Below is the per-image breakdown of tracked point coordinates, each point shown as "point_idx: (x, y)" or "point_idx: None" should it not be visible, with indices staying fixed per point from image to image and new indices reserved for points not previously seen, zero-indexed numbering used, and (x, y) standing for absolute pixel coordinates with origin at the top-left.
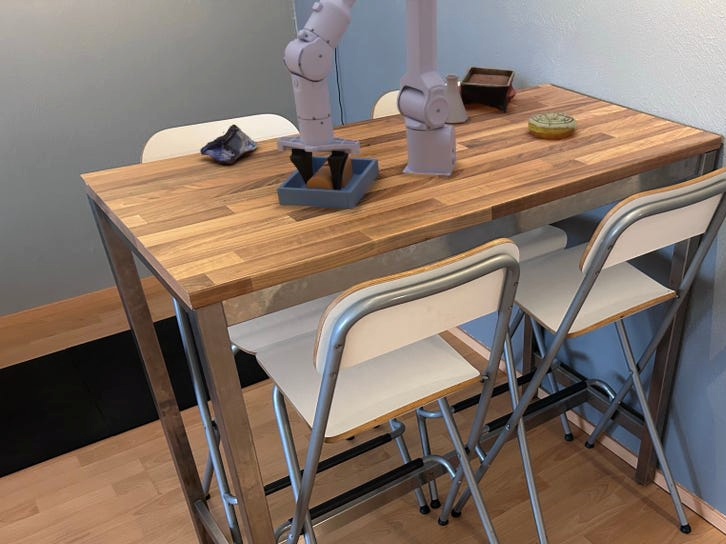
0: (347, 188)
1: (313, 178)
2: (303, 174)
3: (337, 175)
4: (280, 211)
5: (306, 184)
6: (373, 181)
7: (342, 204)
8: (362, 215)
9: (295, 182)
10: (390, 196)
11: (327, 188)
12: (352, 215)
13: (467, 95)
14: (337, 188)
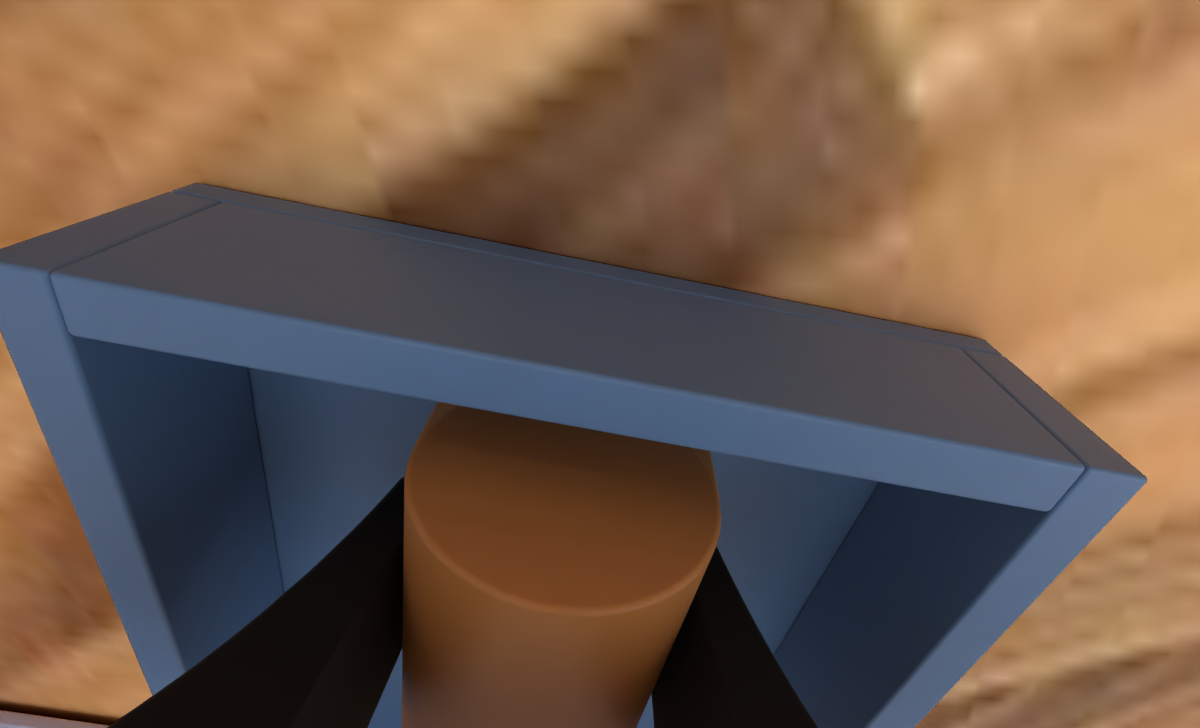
0: None
1: (603, 604)
2: (767, 708)
3: (229, 639)
4: (993, 249)
5: (724, 586)
6: None
7: (259, 226)
8: (45, 81)
9: (833, 664)
10: (53, 488)
11: (434, 461)
12: (160, 87)
13: None
14: (373, 510)
